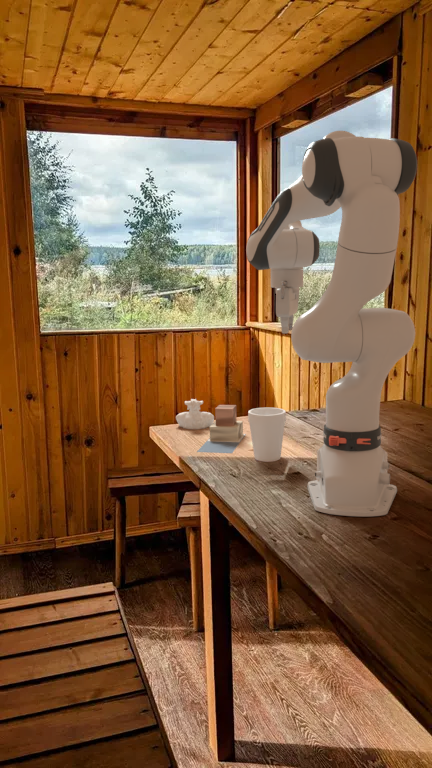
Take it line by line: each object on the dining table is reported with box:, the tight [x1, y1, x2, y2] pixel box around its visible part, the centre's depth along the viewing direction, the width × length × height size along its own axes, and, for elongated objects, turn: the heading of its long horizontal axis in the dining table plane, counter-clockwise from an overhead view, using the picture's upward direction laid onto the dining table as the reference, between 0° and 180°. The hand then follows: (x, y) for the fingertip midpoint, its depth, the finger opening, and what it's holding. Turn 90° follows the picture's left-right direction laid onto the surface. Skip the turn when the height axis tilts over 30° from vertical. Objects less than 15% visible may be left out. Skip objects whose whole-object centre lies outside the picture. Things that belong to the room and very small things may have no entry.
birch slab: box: [209, 420, 244, 442], centre depth 172 cm, size 8×8×4 cm
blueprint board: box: [196, 433, 247, 454], centre depth 167 cm, size 20×10×1 cm, turn 167°
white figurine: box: [175, 398, 215, 430], centre depth 185 cm, size 12×8×11 cm
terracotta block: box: [214, 404, 238, 426], centre depth 172 cm, size 5×5×5 cm
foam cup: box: [247, 407, 287, 463], centre depth 151 cm, size 10×9×13 cm
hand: (287, 331), depth 165 cm, fingers open, 8 cm apart
